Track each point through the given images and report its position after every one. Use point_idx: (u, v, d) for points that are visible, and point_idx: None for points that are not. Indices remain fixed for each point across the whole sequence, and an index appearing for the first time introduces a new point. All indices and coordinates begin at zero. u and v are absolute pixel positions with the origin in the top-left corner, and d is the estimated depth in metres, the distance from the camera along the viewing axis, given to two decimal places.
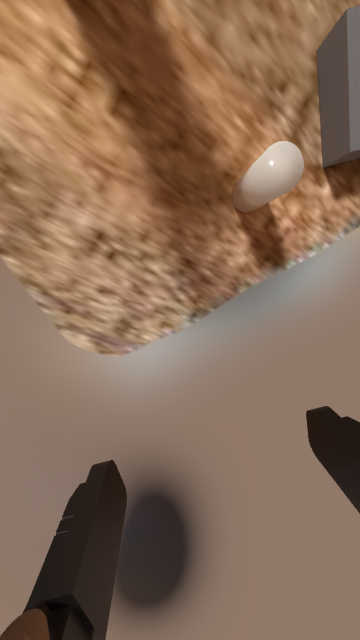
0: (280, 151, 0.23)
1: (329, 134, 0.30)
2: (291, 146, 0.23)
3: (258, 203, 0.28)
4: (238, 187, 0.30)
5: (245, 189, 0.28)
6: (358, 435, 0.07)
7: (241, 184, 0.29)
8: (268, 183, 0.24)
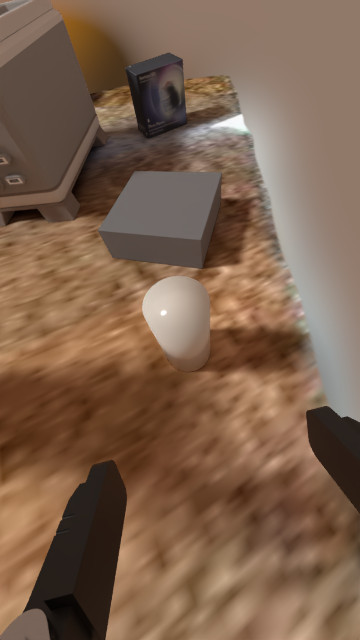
0: (155, 298, 0.16)
1: (175, 257, 0.29)
2: (158, 285, 0.17)
3: (204, 343, 0.19)
4: (172, 360, 0.21)
5: (178, 354, 0.19)
6: (358, 435, 0.07)
7: (170, 356, 0.20)
8: (184, 324, 0.15)
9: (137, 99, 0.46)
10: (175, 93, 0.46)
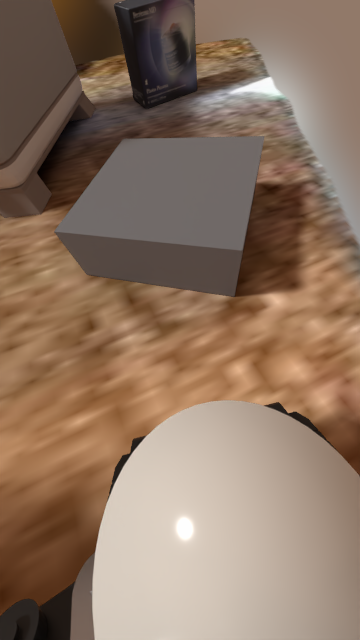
0: (152, 518, 0.04)
1: (190, 278, 0.17)
2: (163, 440, 0.04)
3: None
4: None
5: None
6: None
7: None
8: None
9: (131, 50, 0.33)
10: (183, 44, 0.34)
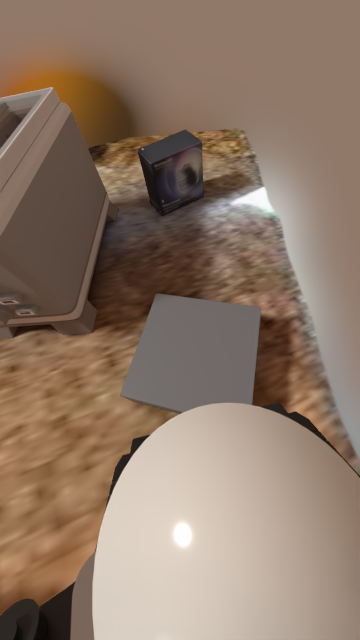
0: (153, 521, 0.04)
1: None
2: (163, 442, 0.04)
3: None
4: None
5: None
6: None
7: None
8: None
9: (151, 181, 0.41)
10: (193, 173, 0.42)
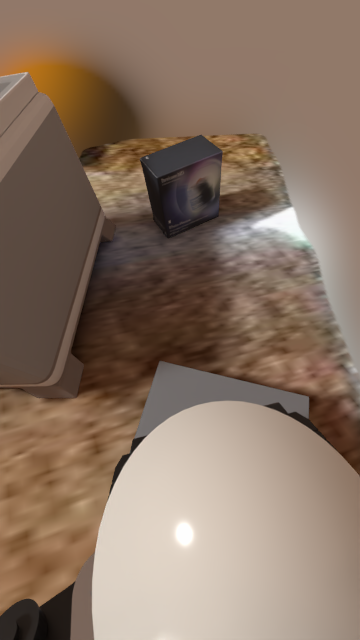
0: (152, 519, 0.04)
1: None
2: (162, 440, 0.04)
3: None
4: None
5: None
6: None
7: None
8: None
9: (156, 198, 0.33)
10: (208, 189, 0.33)
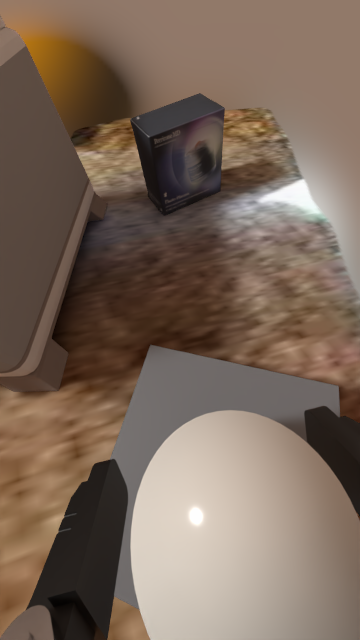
0: (174, 501, 0.05)
1: None
2: (180, 441, 0.06)
3: None
4: None
5: None
6: (355, 434, 0.07)
7: None
8: None
9: (149, 167, 0.29)
10: (209, 156, 0.29)
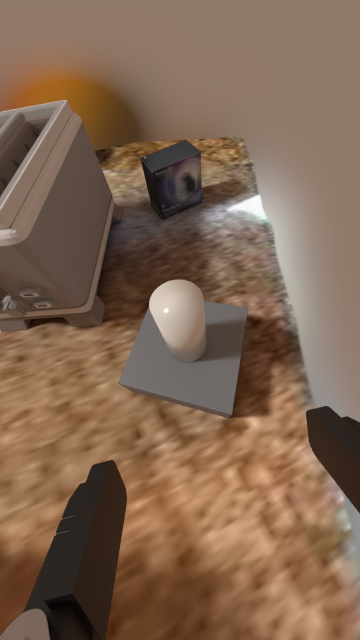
0: (159, 298, 0.20)
1: (201, 409, 0.28)
2: (161, 287, 0.21)
3: (201, 335, 0.22)
4: (174, 351, 0.25)
5: (179, 344, 0.22)
6: (358, 435, 0.07)
7: (172, 347, 0.23)
8: (183, 317, 0.19)
9: (152, 188, 0.44)
10: (192, 181, 0.44)
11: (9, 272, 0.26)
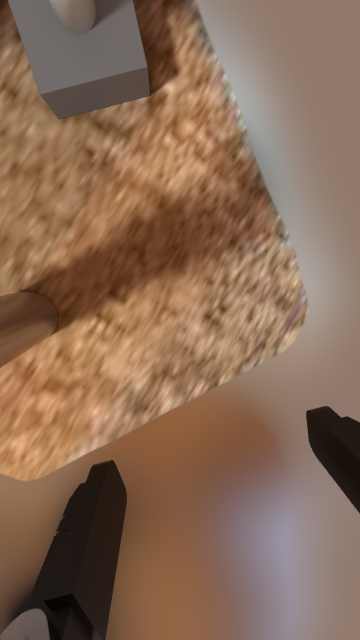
0: None
1: (124, 93, 0.31)
2: None
3: None
4: (68, 5, 0.23)
5: None
6: (358, 435, 0.07)
7: None
8: None
9: None
10: None
11: None
